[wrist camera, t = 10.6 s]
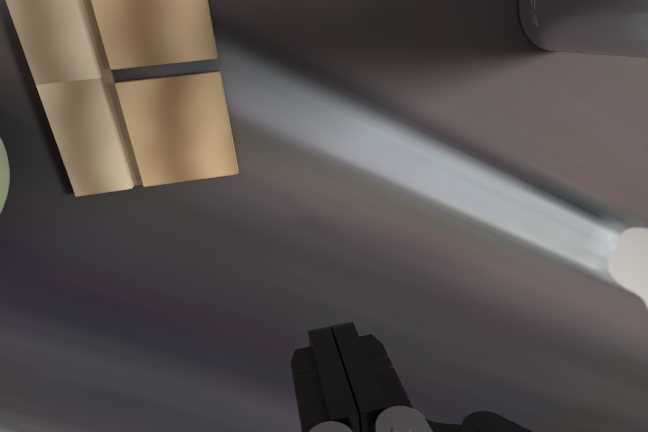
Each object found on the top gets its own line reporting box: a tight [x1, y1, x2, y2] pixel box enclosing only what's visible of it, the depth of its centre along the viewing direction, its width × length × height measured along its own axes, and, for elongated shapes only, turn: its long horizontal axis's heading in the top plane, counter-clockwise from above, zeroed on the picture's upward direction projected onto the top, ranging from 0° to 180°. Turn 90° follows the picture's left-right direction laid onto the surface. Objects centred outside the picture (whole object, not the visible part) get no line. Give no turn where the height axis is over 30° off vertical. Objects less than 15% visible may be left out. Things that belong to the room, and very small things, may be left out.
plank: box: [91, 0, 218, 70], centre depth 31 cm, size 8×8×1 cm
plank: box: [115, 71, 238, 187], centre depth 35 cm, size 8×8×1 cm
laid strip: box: [6, 0, 143, 197], centre depth 33 cm, size 5×18×1 cm, turn 5°
